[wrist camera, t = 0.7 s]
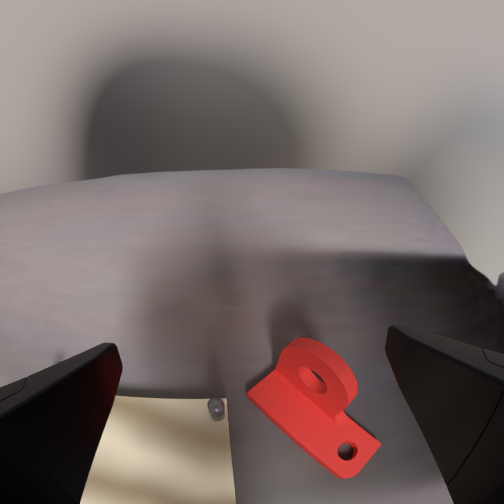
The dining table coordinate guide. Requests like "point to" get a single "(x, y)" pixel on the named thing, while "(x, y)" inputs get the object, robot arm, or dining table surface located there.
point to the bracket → (315, 405)
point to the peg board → (163, 454)
